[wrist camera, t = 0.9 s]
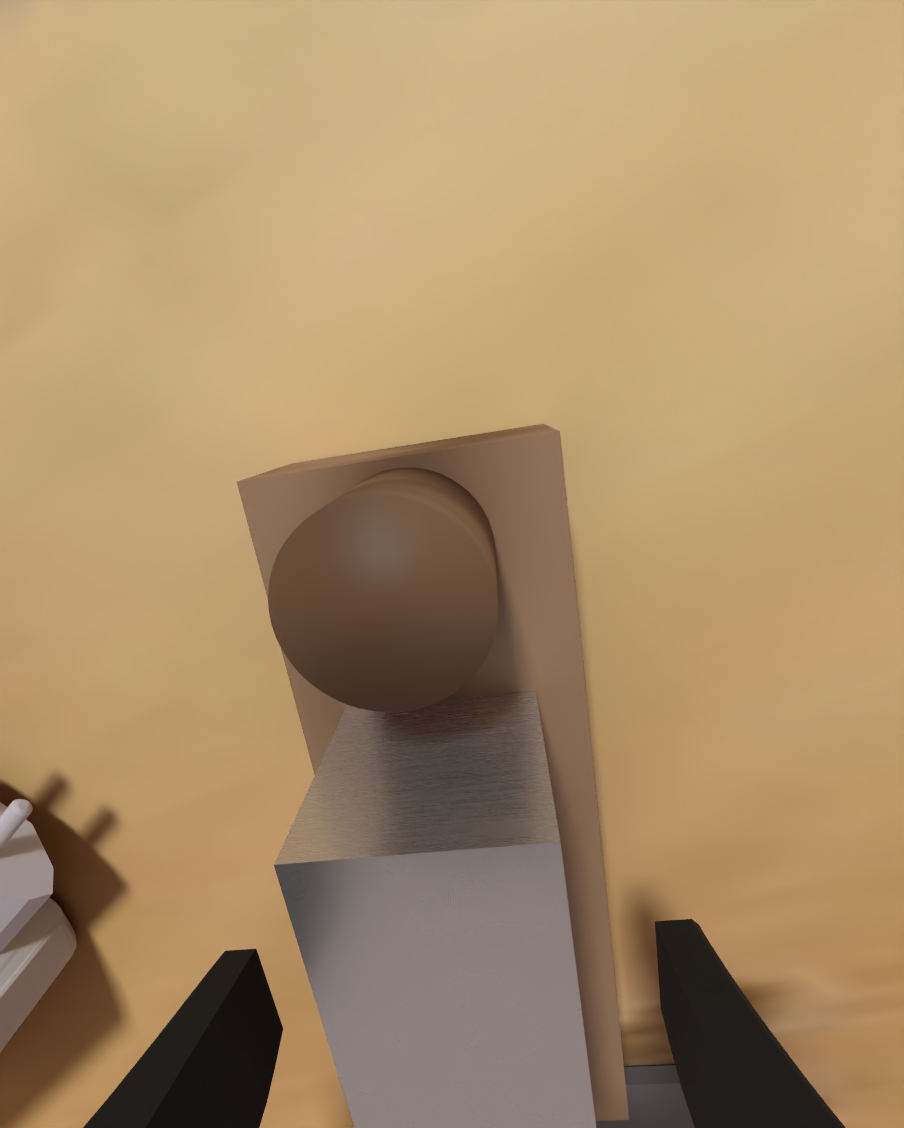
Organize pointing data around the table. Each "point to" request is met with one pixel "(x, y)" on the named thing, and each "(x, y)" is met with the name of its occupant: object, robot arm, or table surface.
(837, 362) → the table surface
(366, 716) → the lever cap
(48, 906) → the charger
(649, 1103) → the mat
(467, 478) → the plane body
